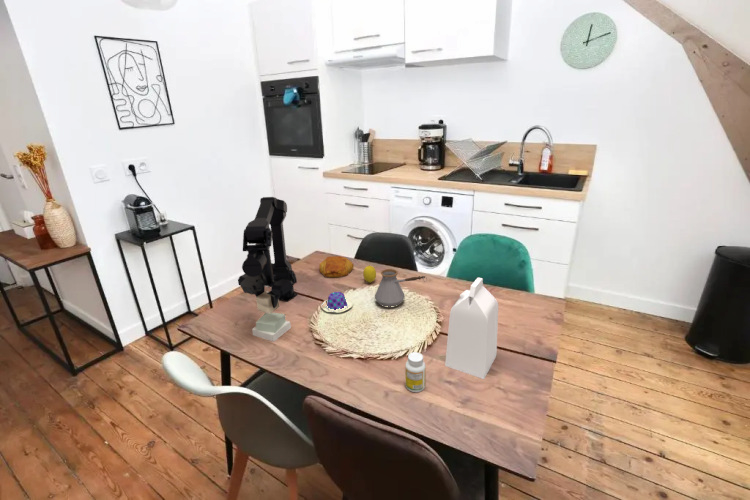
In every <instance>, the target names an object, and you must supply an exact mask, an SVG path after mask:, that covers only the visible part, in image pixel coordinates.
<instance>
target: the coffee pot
mask: <svg viewBox="0 0 750 500" xmlns="http://www.w3.org/2000/svg"><path fill="white" fill-rule="evenodd" d="M398 274H399V272H398V270H396V269H393V268H387V269H386V268H385V269H383V270H381V271H380V275H381V276H382V277H381V281H380V283H379V285H378V287H377V290H376V292H375V295H374V299H375V301H376V302H377V303H378V305H380V306H382V305H383V306H382V307H384V306H388V307H391V306H396V305H398V306H399V305H400V304H402V302H404V300H405V297H406V296H405V292H404V291H403V288H402V287H401V284H400V283H402V282H412V281H417V280H421V279H422V281H423V282H424V283H426V282H427V281H428V278H427V276H425V275H421V276H420V275H419V276H413V277H408V278H402V279H398V278H397V275H398ZM425 278H426V281H425V280H424V279H425ZM388 307H387V308H388ZM396 307H397V306H396ZM391 308H392V307H391Z"/></svg>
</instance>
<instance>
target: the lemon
mask: <svg viewBox="0 0 750 500" xmlns="http://www.w3.org/2000/svg"><path fill="white" fill-rule="evenodd" d="M362 274H363V276H362V277H363V279H364V280H365V281H366V282H367V283H372V282H373V281H375V280H376V278H377V272H376V269H375V267H374V266H372V265H367V266H365V268H364V269H363V273H362Z"/></svg>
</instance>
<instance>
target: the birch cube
mask: <svg viewBox="0 0 750 500" xmlns="http://www.w3.org/2000/svg"><path fill="white" fill-rule="evenodd" d="M268 292H270V291H269V290H265V292H264V293H262V294H260V295H259V296H257V297H256V296H255V300H256V306H257V307H256V308H257V311H259V312H262V313H264V314H265V313H268V314H270V313H274V311H276V310H277V309H279V308H280V306H281V305H280V300H279V301H278V303H277V306H276V307H275V308H273V305H272V301H271V296H270V295H269V294H267V293H268Z"/></svg>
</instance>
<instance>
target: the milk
mask: <svg viewBox="0 0 750 500" xmlns="http://www.w3.org/2000/svg"><path fill="white" fill-rule="evenodd" d="M483 281H484V279H483V278H482V277H476V279H475V280H474V281H473V282H472V284H471V285H470V289H465V290H464V291H463V292H461V293H460V294H459V298H458V299H457V301H456V302H455V303H454V304H453V305H452V307H451V308H450V312H449V320H448V329H447V341H446V342H447V343H446V351H445V352H446V354H445V362H444V363H445V365H444V367H447V368H450V369H453V370H456V371H459V372H461V373H465V374H467V375H470V376H473V377H477V378H479V379H482V380H485V378H486V376H487V375H488V373H489V371H490V369H491V368H492V365H493V363H494V361H495V360H496V357H497V352H498V351H497V349H498V327H499V326H498V325H499V324H498V323H499V302H498V300H497V299H496V297H495V296H494V295H493V294H491V292H490V291H489V290H487V288H486V287H485V285H484V282H483Z"/></svg>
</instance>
